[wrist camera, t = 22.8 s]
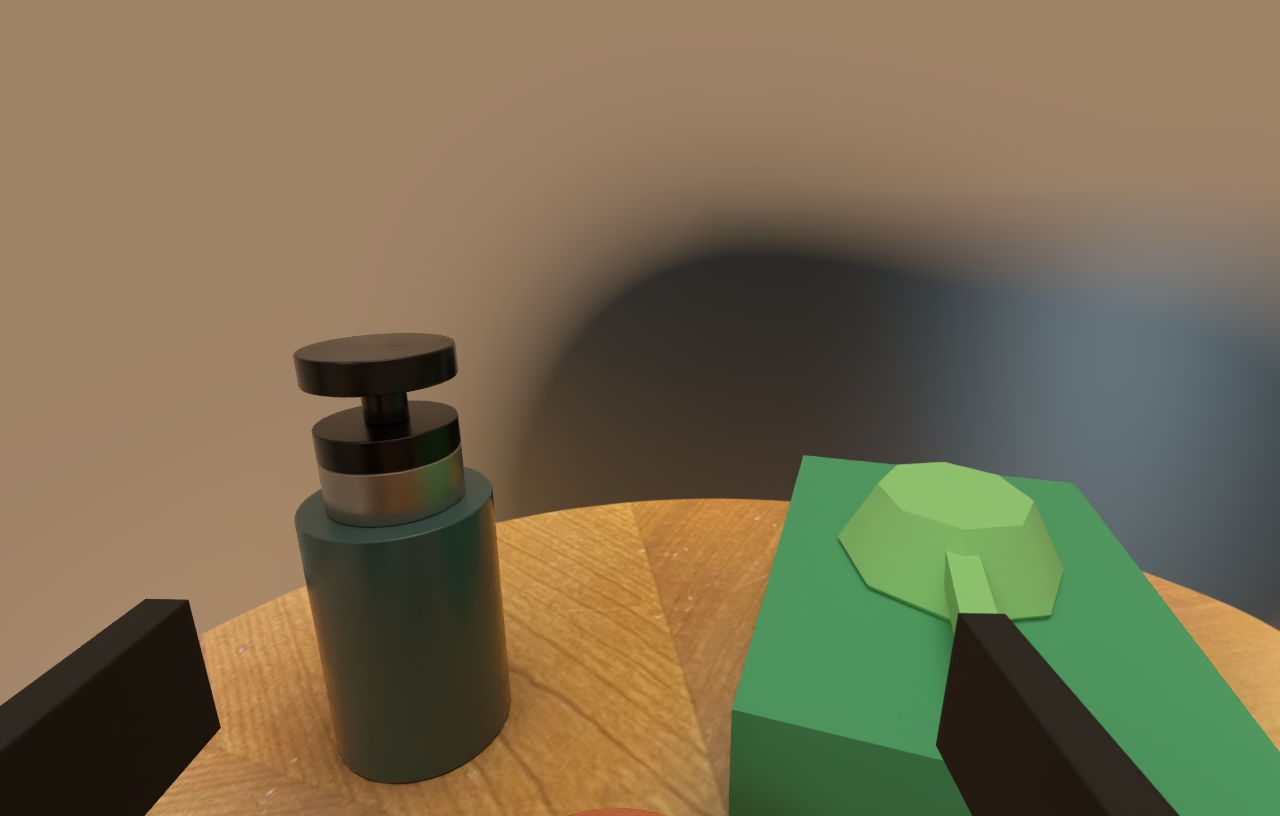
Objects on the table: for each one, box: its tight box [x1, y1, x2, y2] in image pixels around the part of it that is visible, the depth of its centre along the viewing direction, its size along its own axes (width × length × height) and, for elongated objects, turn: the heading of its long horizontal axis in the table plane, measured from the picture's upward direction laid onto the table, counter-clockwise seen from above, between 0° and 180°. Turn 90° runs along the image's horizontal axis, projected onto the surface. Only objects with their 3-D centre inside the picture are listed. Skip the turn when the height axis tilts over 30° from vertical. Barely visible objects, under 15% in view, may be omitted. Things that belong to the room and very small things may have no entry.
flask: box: [293, 333, 511, 783], centre depth 31 cm, size 9×9×20 cm
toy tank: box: [729, 455, 1280, 816], centre depth 29 cm, size 18×12×35 cm
